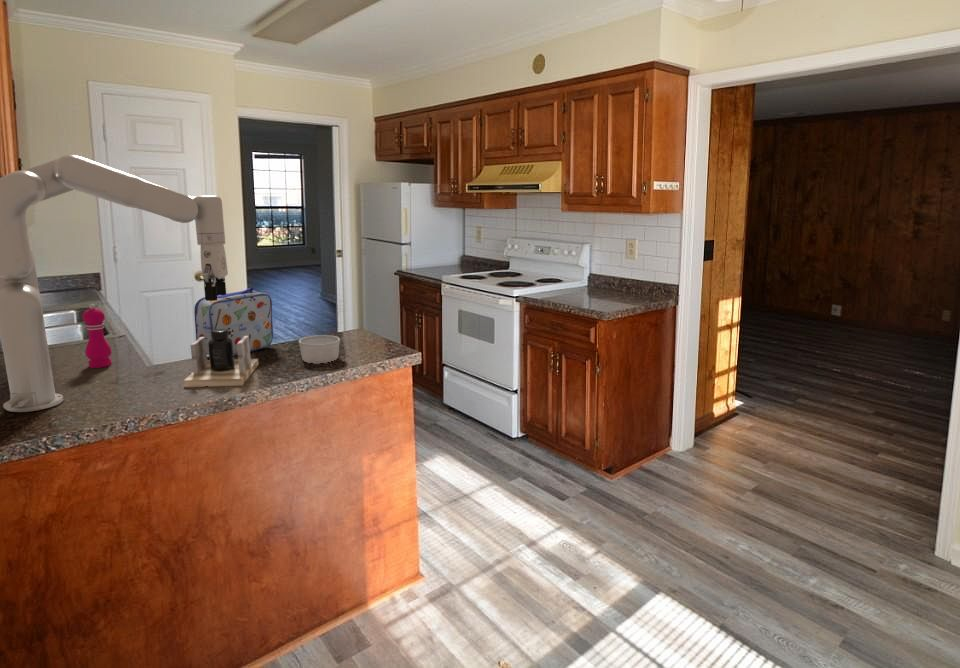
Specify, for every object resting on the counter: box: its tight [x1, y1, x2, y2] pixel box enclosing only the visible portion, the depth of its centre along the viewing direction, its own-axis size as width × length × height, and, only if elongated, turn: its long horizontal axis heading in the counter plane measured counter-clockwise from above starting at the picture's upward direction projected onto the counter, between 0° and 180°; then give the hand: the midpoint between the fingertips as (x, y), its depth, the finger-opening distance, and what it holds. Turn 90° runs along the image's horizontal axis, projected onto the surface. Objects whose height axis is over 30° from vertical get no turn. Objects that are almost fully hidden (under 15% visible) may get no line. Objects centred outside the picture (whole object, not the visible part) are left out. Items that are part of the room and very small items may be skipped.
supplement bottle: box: [208, 329, 235, 371], centre depth 192 cm, size 7×7×12 cm
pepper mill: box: [82, 303, 113, 369], centre depth 202 cm, size 7×7×20 cm
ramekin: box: [298, 334, 341, 365], centre depth 211 cm, size 13×13×7 cm
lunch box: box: [193, 287, 274, 357], centre depth 218 cm, size 28×10×22 cm, turn 149°
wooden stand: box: [183, 336, 260, 388], centre depth 193 cm, size 22×16×11 cm
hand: (216, 297), depth 189 cm, fingers open, 9 cm apart
